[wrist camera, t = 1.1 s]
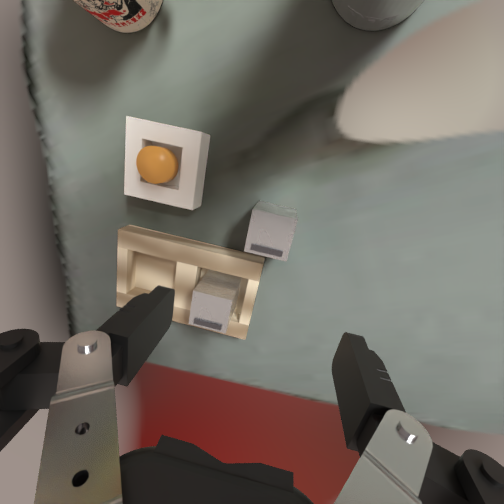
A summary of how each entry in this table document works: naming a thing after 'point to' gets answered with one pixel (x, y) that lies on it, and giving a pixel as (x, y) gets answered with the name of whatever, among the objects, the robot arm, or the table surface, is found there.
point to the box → (188, 156)
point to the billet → (214, 301)
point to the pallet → (183, 271)
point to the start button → (157, 164)
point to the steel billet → (271, 230)
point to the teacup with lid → (123, 13)
